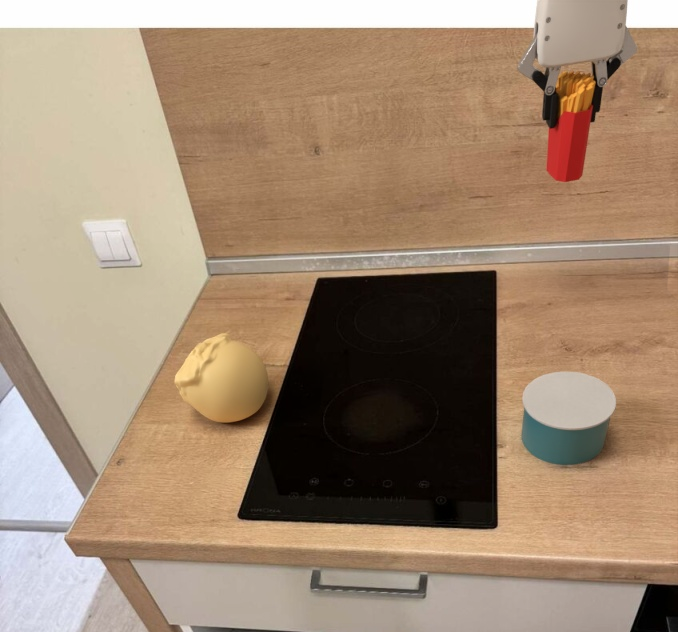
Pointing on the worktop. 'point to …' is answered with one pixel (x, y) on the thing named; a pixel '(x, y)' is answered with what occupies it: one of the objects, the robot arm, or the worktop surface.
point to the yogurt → (566, 417)
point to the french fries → (570, 126)
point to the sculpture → (223, 379)
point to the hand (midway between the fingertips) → (569, 120)
